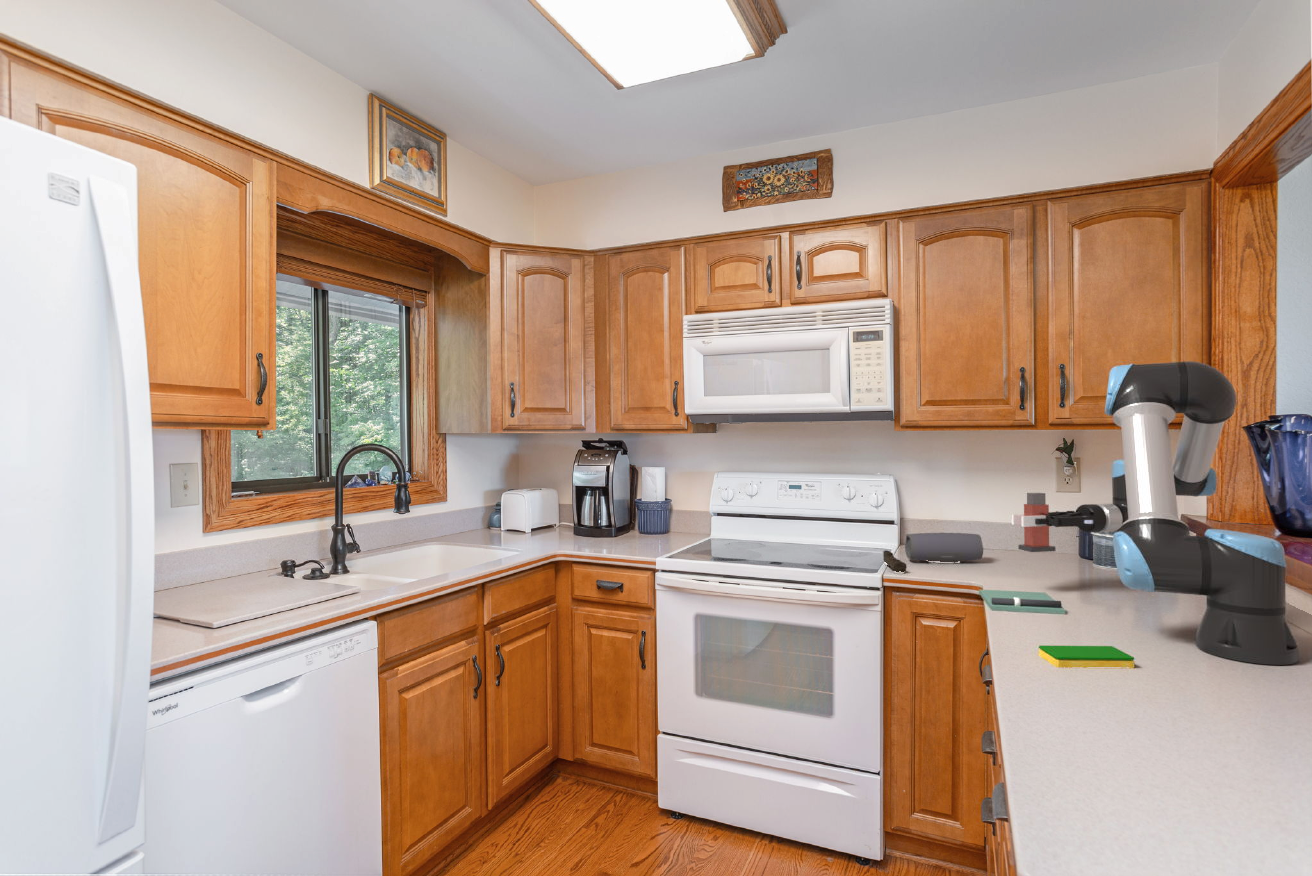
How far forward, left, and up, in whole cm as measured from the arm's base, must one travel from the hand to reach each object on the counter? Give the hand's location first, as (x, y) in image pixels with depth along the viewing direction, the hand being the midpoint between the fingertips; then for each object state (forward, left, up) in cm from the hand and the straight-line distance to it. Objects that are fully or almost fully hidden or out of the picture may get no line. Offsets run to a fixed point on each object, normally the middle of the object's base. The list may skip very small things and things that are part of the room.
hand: (1017, 520), depth 180 cm
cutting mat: (-9, +2, -20) cm, 22 cm away
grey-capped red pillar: (+2, -5, -8) cm, 10 cm away
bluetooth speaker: (+44, +14, -20) cm, 50 cm away
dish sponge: (-54, 0, -21) cm, 58 cm away
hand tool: (+31, +31, -20) cm, 48 cm away
